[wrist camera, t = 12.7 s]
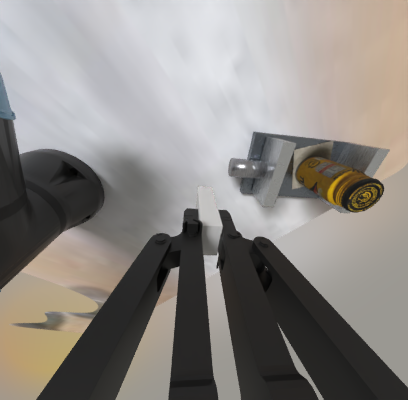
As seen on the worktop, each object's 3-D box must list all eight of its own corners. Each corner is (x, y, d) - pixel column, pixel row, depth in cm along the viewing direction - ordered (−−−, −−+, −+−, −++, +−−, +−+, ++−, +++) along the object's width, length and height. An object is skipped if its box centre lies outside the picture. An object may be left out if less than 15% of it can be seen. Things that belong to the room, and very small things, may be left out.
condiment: (291, 189, 34) (336, 222, 24) (293, 149, 30) (348, 169, 20) (325, 181, 34) (386, 211, 23) (332, 140, 30) (409, 154, 19)
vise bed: (239, 190, 35) (250, 207, 29) (253, 131, 29) (270, 136, 23) (322, 196, 37) (349, 213, 31) (350, 142, 32) (389, 149, 25)
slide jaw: (223, 190, 33) (229, 204, 28) (234, 133, 28) (244, 137, 22) (260, 192, 34) (273, 207, 28) (277, 137, 29) (296, 143, 23)
